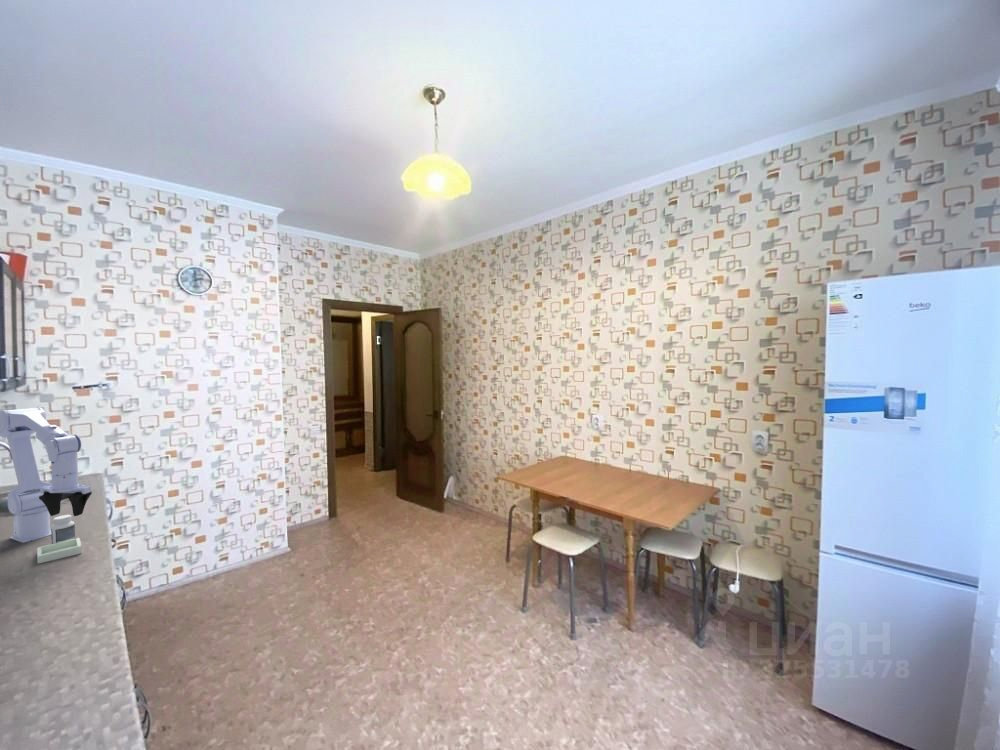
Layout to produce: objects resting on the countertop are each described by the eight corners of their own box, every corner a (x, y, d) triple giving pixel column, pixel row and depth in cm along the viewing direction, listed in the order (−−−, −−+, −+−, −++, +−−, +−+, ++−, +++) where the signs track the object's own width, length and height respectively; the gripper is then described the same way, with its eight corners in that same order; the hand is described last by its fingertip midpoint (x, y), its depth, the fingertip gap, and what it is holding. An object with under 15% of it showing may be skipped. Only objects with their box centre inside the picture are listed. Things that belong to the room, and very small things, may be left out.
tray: (37, 554, 124) (37, 547, 124) (80, 544, 131) (79, 537, 131) (37, 564, 118) (37, 556, 118) (81, 553, 125) (81, 545, 125)
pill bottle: (80, 540, 134) (78, 514, 134) (61, 547, 129) (60, 520, 129) (66, 539, 135) (64, 513, 134) (47, 546, 129) (45, 519, 129)
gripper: (27, 476, 125) (29, 519, 126) (73, 477, 125) (75, 520, 126) (53, 470, 132) (55, 511, 133) (96, 470, 132) (98, 511, 133)
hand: (66, 514), depth 130 cm, fingers open, 7 cm apart
